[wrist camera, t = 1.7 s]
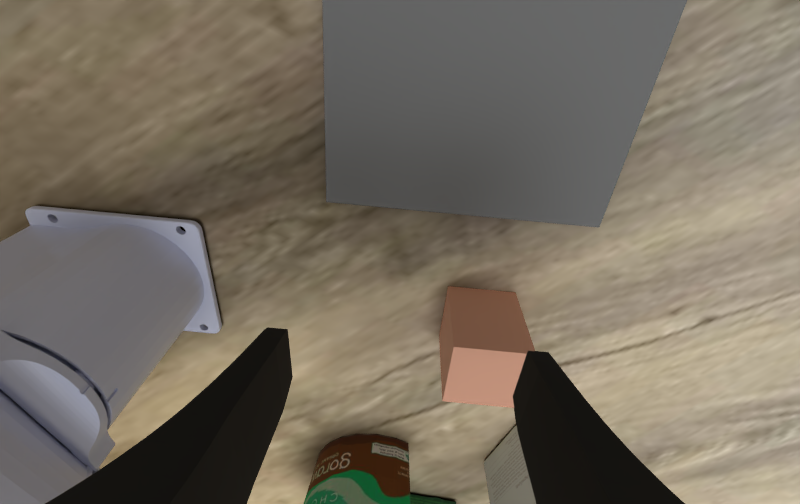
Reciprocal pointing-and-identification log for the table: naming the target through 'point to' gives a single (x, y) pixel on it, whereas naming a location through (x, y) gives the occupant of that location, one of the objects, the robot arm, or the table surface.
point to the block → (482, 346)
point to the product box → (508, 473)
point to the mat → (488, 102)
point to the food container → (361, 472)
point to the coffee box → (428, 500)
